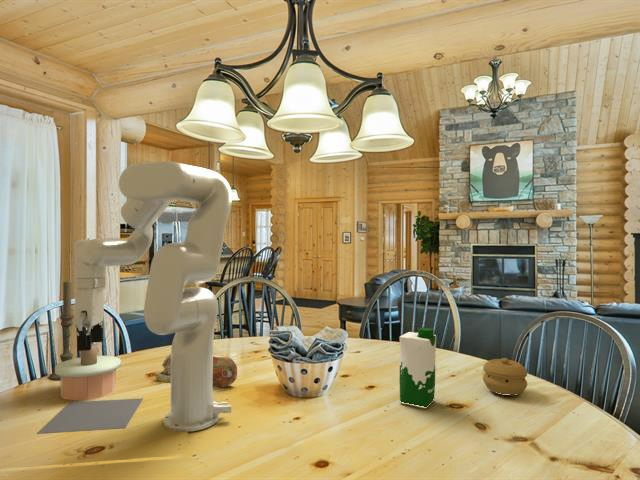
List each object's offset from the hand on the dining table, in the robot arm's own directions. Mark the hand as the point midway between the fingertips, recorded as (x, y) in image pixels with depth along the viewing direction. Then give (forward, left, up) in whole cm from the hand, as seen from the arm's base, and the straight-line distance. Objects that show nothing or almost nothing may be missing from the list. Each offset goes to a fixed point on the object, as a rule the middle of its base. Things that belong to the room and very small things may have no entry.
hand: (90, 346), depth 118 cm
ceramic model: (-22, -11, -14) cm, 28 cm away
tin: (-33, -3, -13) cm, 36 cm away
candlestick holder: (+13, -17, -13) cm, 25 cm away
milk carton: (-87, +20, -13) cm, 91 cm away
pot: (-115, +17, -13) cm, 117 cm away
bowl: (+1, 0, -13) cm, 13 cm away
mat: (-6, +17, -13) cm, 22 cm away
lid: (+1, 0, -6) cm, 6 cm away
